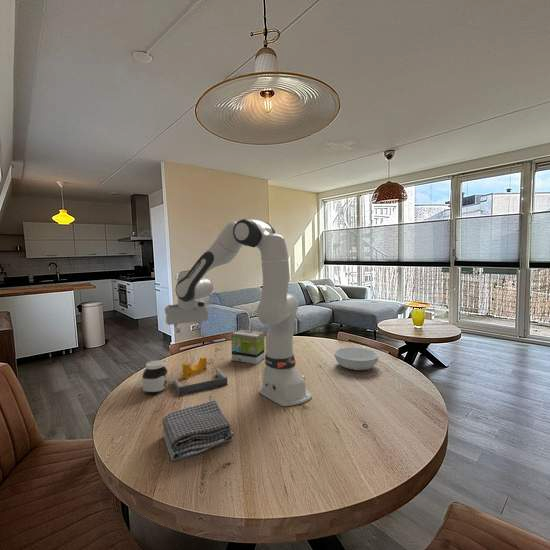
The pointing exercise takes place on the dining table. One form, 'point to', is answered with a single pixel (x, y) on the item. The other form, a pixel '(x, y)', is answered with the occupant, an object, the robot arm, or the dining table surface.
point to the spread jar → (154, 377)
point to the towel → (195, 430)
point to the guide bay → (201, 384)
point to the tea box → (247, 346)
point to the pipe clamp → (194, 368)
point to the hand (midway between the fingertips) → (188, 331)
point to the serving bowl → (356, 358)
